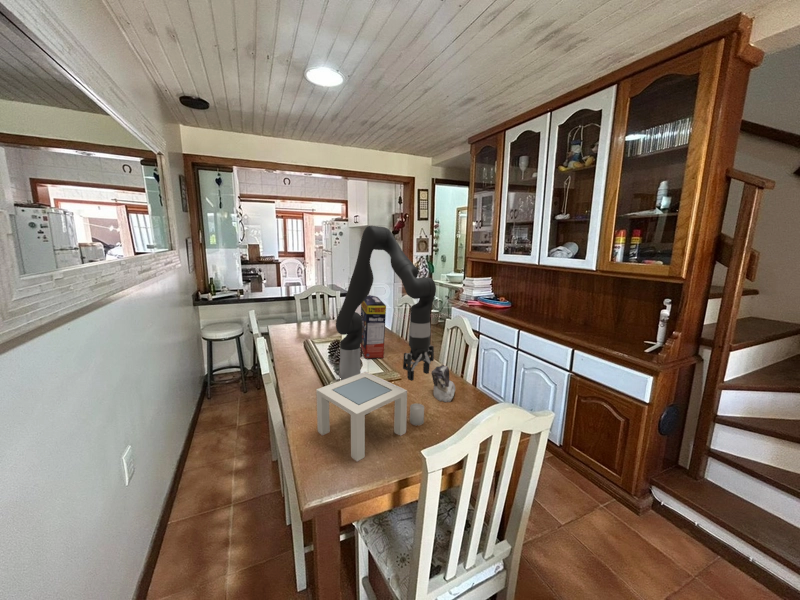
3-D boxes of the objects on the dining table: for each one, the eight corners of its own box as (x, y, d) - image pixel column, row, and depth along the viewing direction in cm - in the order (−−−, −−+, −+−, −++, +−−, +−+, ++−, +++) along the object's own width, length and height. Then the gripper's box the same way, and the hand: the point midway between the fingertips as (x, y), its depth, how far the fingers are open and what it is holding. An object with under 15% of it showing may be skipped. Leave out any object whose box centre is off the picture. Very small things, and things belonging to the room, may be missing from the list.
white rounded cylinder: (406, 421, 124) (407, 406, 123) (416, 416, 128) (416, 401, 127) (417, 427, 121) (417, 412, 120) (426, 421, 124) (427, 406, 123)
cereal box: (384, 359, 187) (387, 303, 181) (364, 359, 184) (366, 303, 178) (376, 344, 212) (378, 294, 206) (358, 344, 209) (360, 294, 204)
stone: (459, 406, 139) (446, 379, 134) (437, 412, 142) (423, 386, 137) (457, 384, 152) (445, 359, 146) (437, 390, 154) (424, 365, 149)
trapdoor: (333, 392, 114) (332, 389, 114) (364, 380, 124) (364, 377, 124) (358, 407, 104) (358, 404, 104) (390, 392, 114) (390, 390, 114)
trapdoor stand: (317, 431, 117) (316, 389, 114) (365, 409, 132) (365, 371, 129) (357, 461, 102) (356, 413, 99) (406, 432, 117) (407, 390, 114)
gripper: (424, 327, 126) (423, 368, 129) (398, 335, 115) (397, 379, 118) (440, 332, 120) (438, 374, 124) (414, 340, 110) (413, 385, 113)
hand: (418, 376), depth 121 cm, fingers open, 8 cm apart
